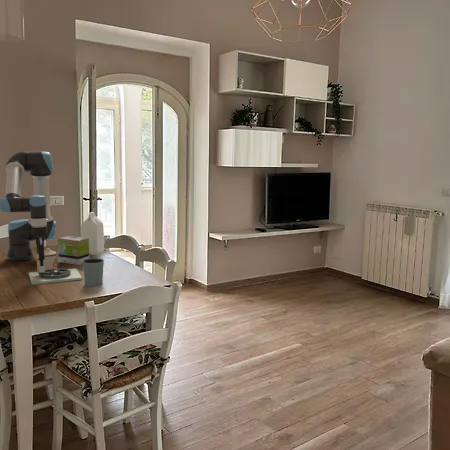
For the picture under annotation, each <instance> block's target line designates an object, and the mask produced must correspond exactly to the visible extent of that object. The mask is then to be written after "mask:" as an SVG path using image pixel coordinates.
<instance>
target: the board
mask: <svg viewBox="0 0 450 450" xmlns="http://www.w3.org/2000/svg"><path fill="white" fill-rule="evenodd" d="M67 269H68V270H70V271H71V274H70V275H69V276H66V277H61V278H49V279H48V278H41V277H40V276H39V273H37V271H34V272H33V271H32V272H31V271H30V272H28V277H29V280H30V283H31V285H41V284H42V285H44V284H52V283H63V282H74V281H81V280H83V277H82V275H81V274H80V272H79V270H78V269H77V268H67ZM60 272H63V271H60ZM49 276H51V275H49Z"/></svg>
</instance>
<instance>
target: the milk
mask: <svg viewBox="0 0 450 450" xmlns="http://www.w3.org/2000/svg"><path fill="white" fill-rule="evenodd" d="M104 230H105V229H104V223H103V221H102V220H100V219H99V218H98V217H97V215H96V213H95V211H91V212H88V217H87V218H86V219H85V220H84V221H83V222H82V223H81V225H80V237H84V238H89V254H91V255H93V256H98V255H100V254H102V253H104V252H105V251H106V247H105V248H104V244H105V233H104ZM104 250H105V251H104ZM103 251H104V252H103ZM91 255H90V256H91Z"/></svg>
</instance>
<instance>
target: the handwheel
mask: <svg viewBox="0 0 450 450" xmlns="http://www.w3.org/2000/svg"><path fill="white" fill-rule="evenodd" d="M37 259H39V254H38V253H37V252H36V269H37V270H36V272H37V273H39V276H40V277H41V278H48V279H49V278H61V277H66V276H69V275H70V274H71V271H70V270H68V269H69V268H57V269H48V270H45V272H39V261H38V260H37ZM60 271H63V272H60ZM49 275H51V276H49Z"/></svg>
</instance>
